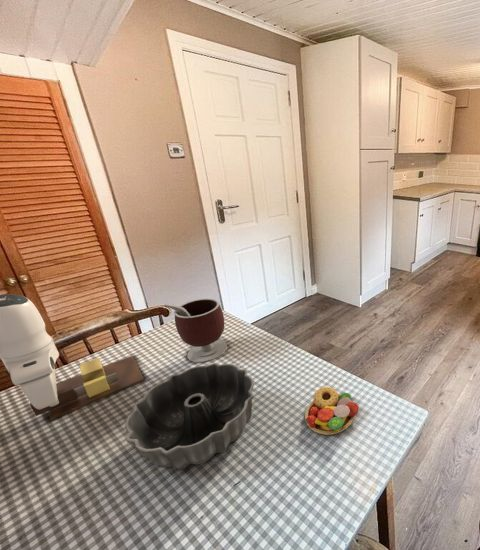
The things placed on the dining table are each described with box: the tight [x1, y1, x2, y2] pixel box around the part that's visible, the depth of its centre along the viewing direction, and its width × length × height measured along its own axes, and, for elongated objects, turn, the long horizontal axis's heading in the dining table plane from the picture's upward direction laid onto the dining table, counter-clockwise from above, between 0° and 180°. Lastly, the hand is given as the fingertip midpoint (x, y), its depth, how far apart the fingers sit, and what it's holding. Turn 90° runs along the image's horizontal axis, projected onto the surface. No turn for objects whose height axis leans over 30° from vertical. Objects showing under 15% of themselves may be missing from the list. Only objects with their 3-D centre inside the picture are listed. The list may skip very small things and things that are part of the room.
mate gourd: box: [164, 298, 228, 363], centre depth 100 cm, size 16×14×20 cm
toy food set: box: [304, 386, 360, 436], centre depth 78 cm, size 13×13×3 cm
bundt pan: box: [124, 362, 255, 471], centre depth 72 cm, size 26×26×10 cm
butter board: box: [49, 355, 145, 421], centre depth 88 cm, size 20×16×5 cm
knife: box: [29, 373, 118, 417], centre depth 82 cm, size 17×2×4 cm, turn 136°
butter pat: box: [84, 376, 110, 397], centre depth 84 cm, size 4×2×4 cm, turn 136°
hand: (54, 400), depth 79 cm, fingers closed on knife, 2 cm apart
